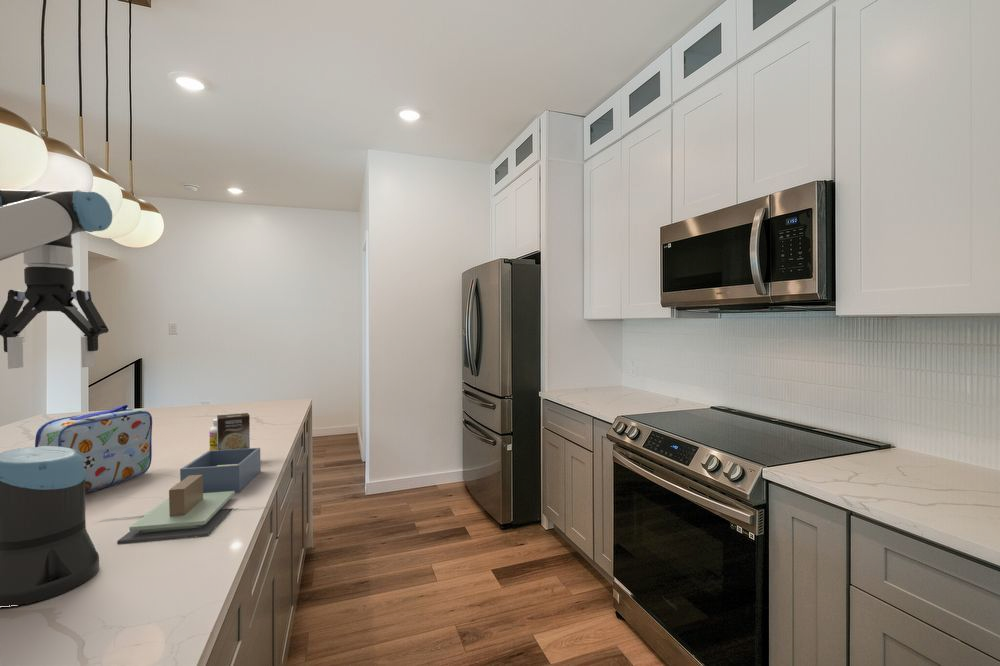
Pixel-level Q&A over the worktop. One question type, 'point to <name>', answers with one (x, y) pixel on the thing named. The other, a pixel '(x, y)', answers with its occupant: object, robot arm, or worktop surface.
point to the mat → (175, 531)
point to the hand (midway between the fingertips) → (52, 367)
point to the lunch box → (104, 443)
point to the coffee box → (233, 431)
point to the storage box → (225, 469)
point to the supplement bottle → (213, 435)
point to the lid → (184, 507)
